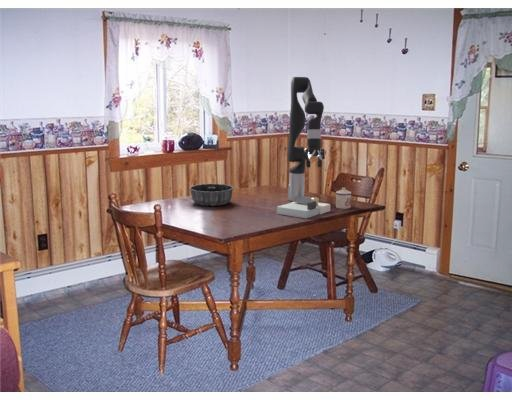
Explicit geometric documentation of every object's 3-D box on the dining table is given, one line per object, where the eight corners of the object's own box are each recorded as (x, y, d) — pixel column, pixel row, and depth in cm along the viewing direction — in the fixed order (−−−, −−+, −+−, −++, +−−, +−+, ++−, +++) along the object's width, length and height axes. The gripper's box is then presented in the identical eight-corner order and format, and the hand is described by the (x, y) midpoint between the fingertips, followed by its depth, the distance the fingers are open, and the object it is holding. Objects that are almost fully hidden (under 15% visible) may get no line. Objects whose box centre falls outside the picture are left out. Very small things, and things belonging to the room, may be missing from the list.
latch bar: (319, 204, 349) (319, 197, 348) (316, 205, 346) (316, 198, 345) (297, 201, 357) (297, 194, 356) (294, 202, 354) (294, 195, 353)
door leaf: (276, 213, 345) (276, 206, 344) (289, 209, 355) (289, 203, 355) (306, 218, 334) (306, 211, 333) (318, 214, 345) (318, 207, 344)
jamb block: (290, 209, 356) (290, 202, 355) (300, 206, 365) (300, 199, 364) (320, 214, 345) (320, 207, 344) (330, 210, 354) (330, 204, 353)
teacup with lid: (347, 209, 358) (348, 189, 355) (333, 207, 362) (333, 188, 360) (354, 206, 368) (355, 186, 366) (340, 204, 372) (341, 185, 370)
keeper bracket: (307, 209, 338) (307, 202, 337) (312, 207, 342) (313, 200, 342) (310, 210, 336) (310, 202, 336) (316, 208, 341) (316, 201, 340)
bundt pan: (213, 210, 354) (213, 192, 352) (180, 204, 369) (180, 187, 367) (242, 203, 374) (242, 186, 372) (209, 197, 390) (209, 182, 388)
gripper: (318, 138, 349) (318, 167, 350) (300, 137, 340) (299, 167, 341) (328, 138, 343) (327, 167, 344) (309, 137, 334) (309, 167, 335)
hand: (314, 167), depth 342 cm, fingers open, 8 cm apart
